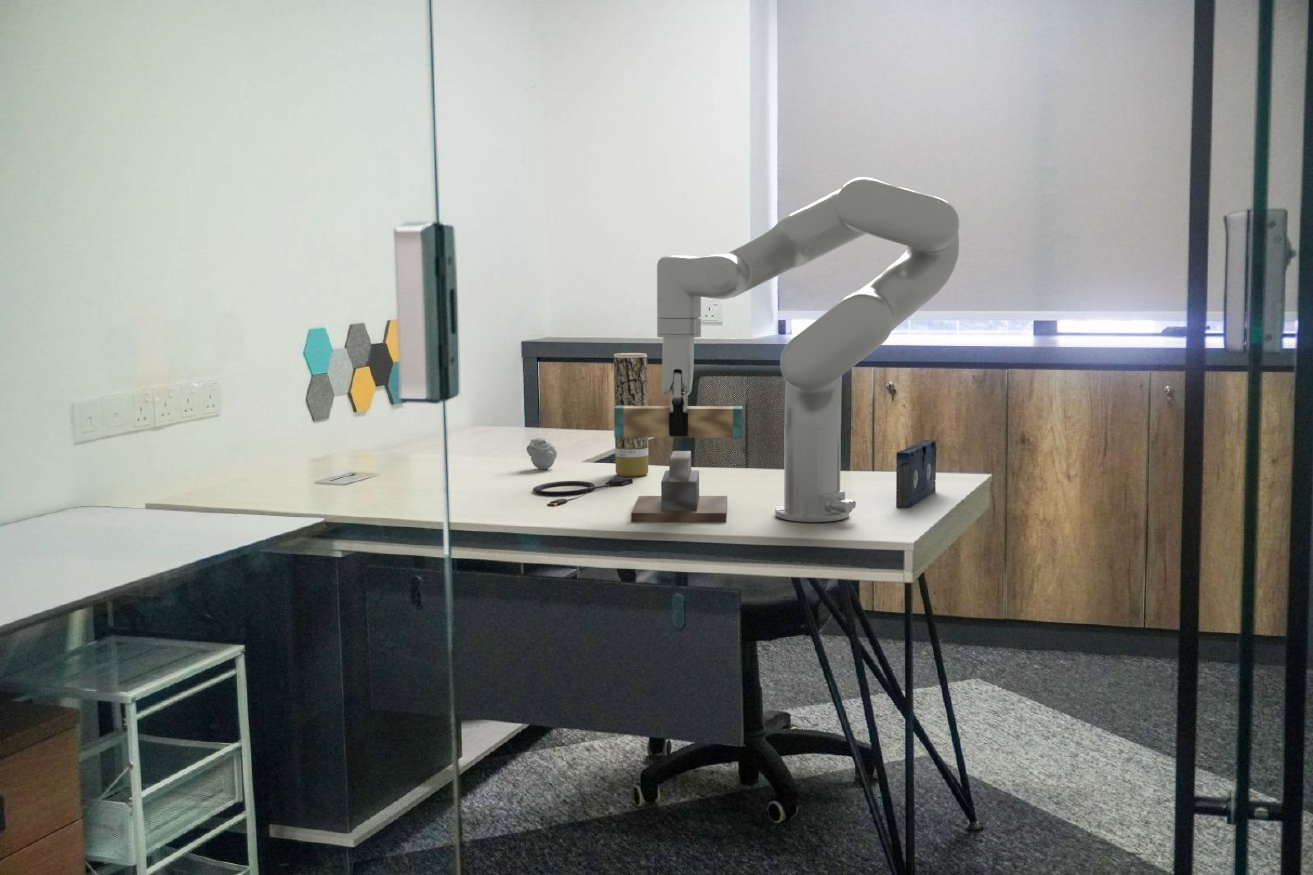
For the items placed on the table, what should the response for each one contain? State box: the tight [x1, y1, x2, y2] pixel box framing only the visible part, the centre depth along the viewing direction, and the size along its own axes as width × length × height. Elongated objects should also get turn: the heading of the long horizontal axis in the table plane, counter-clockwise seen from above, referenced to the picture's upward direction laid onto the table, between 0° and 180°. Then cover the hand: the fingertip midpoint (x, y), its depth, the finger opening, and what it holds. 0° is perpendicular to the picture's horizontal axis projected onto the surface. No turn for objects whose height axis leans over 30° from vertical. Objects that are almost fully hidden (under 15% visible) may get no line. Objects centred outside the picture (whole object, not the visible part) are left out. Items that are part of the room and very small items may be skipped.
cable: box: [532, 476, 634, 508], centre depth 244 cm, size 14×28×2 cm, turn 150°
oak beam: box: [613, 405, 743, 439], centre depth 219 cm, size 22×4×5 cm, turn 86°
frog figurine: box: [526, 436, 558, 471], centre depth 270 cm, size 6×7×7 cm
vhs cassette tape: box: [895, 439, 937, 509], centre depth 230 cm, size 18×3×10 cm, turn 152°
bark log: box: [613, 352, 649, 478], centre depth 260 cm, size 7×7×25 cm
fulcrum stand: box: [630, 450, 728, 523], centre depth 220 cm, size 16×16×10 cm
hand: (679, 433), depth 219 cm, fingers closed on oak beam, 4 cm apart
